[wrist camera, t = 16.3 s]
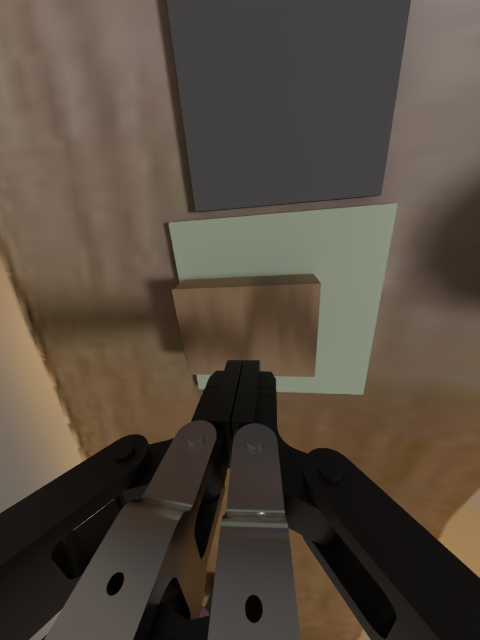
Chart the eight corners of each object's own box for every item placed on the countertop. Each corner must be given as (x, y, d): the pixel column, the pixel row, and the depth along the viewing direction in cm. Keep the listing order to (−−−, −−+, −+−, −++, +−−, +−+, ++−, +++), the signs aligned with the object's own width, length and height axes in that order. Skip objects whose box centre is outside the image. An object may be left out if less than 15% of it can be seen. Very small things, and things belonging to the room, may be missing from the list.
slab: (313, 273, 15) (186, 279, 17) (320, 283, 13) (171, 289, 14) (309, 356, 18) (199, 355, 19) (314, 376, 15) (188, 374, 17)
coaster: (164, -45, 11) (158, -59, 10) (422, -117, 9) (431, -138, 8) (198, 212, 15) (195, 211, 14) (376, 195, 13) (381, 194, 13)
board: (171, 222, 16) (168, 222, 15) (393, 203, 13) (397, 203, 13) (200, 385, 21) (198, 389, 21) (360, 390, 19) (363, 394, 18)
